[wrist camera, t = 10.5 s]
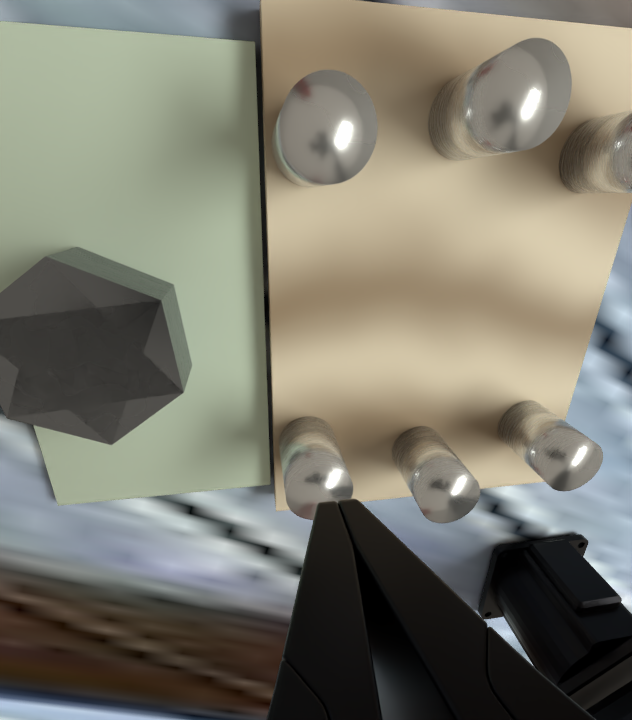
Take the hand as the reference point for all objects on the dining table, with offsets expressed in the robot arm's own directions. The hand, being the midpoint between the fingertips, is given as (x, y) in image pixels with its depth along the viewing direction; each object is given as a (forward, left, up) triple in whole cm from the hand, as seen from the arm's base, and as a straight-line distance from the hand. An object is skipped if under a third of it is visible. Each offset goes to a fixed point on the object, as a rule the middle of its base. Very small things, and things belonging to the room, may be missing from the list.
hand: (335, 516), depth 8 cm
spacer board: (+2, -7, -10) cm, 12 cm away
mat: (+2, +6, -10) cm, 12 cm away
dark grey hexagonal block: (+1, +7, -10) cm, 12 cm away
